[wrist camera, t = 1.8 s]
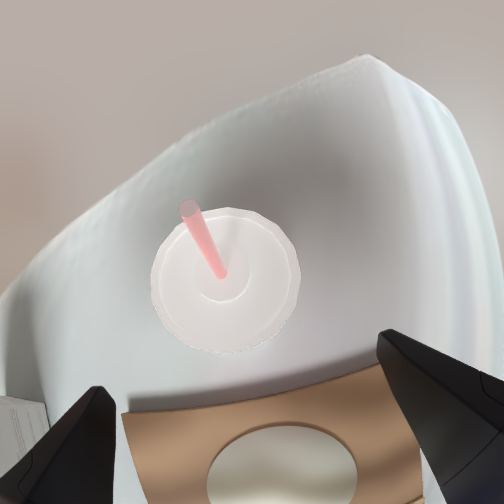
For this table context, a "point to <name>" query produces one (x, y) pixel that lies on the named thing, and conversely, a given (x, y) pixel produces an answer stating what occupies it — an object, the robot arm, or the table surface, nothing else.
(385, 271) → the table surface
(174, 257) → the beverage cup
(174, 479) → the board
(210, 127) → the table surface
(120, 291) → the table surface
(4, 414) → the supplement box
